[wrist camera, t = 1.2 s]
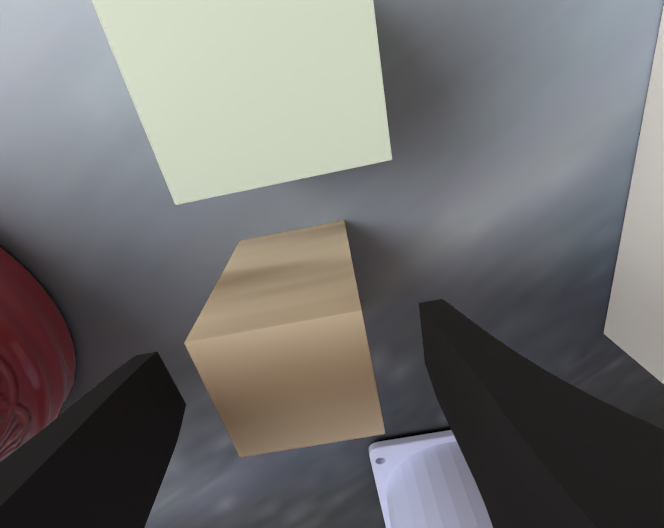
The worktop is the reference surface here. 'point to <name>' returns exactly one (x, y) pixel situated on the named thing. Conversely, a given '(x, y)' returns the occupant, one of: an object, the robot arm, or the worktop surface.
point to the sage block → (251, 88)
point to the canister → (30, 357)
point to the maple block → (288, 344)
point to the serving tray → (643, 240)
